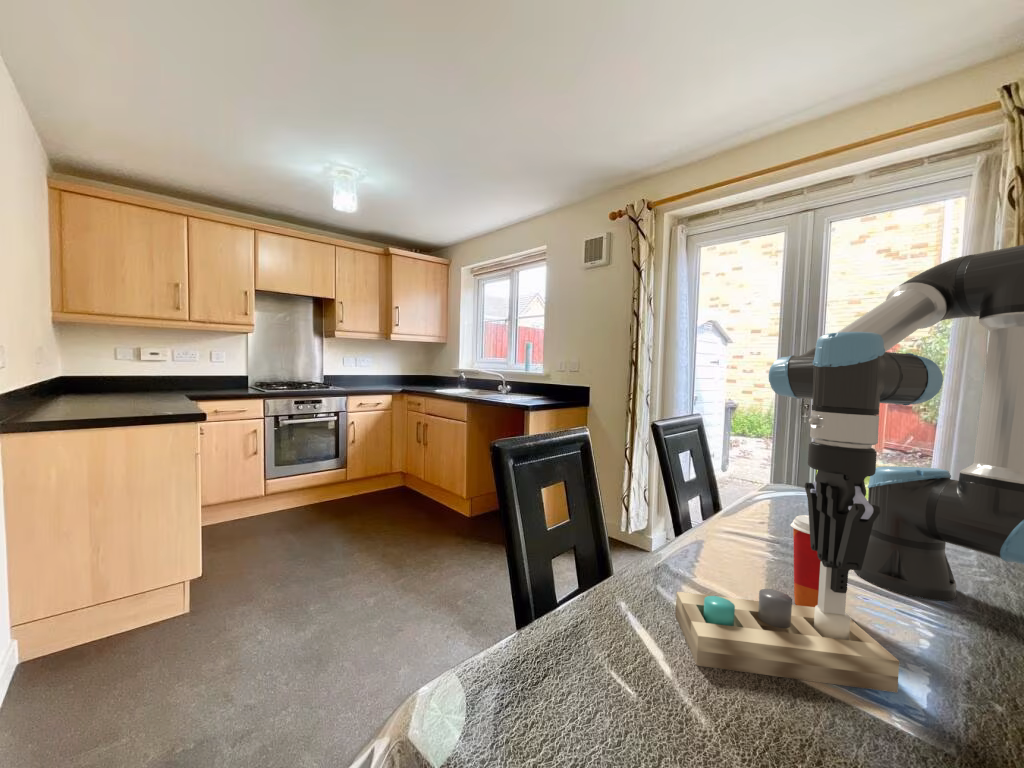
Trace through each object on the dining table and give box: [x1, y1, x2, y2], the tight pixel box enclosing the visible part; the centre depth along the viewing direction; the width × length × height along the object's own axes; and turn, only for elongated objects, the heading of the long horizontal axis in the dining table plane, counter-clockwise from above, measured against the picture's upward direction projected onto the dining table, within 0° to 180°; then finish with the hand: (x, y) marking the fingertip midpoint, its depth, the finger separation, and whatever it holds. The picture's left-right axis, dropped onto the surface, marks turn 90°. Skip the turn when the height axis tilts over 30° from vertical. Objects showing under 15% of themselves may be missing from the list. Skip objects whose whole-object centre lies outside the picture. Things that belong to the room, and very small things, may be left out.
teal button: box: [703, 595, 735, 626], centre depth 62 cm, size 4×4×4 cm
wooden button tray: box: [675, 591, 900, 694], centre depth 61 cm, size 24×12×4 cm, turn 82°
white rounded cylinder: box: [814, 605, 851, 640], centre depth 60 cm, size 4×4×4 cm
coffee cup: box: [790, 514, 821, 607], centre depth 73 cm, size 8×8×15 cm
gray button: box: [758, 588, 793, 628], centre depth 61 cm, size 4×4×4 cm
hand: (831, 610), depth 60 cm, fingers closed
